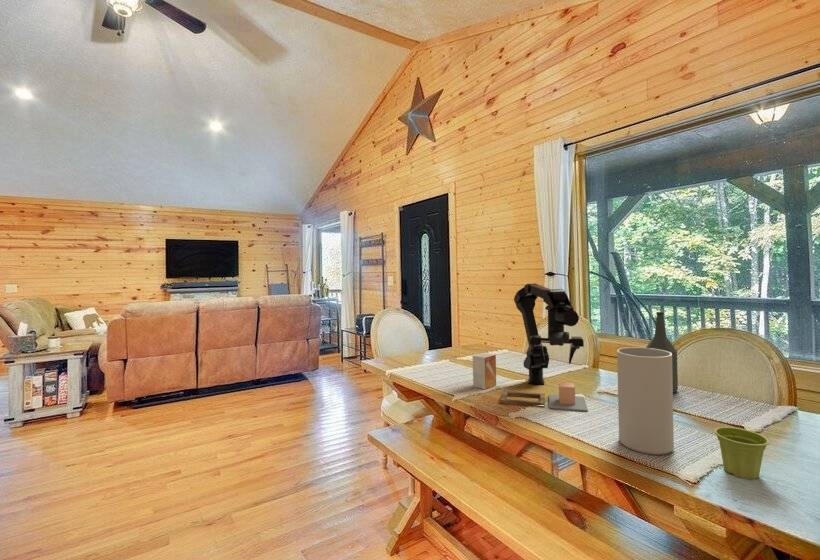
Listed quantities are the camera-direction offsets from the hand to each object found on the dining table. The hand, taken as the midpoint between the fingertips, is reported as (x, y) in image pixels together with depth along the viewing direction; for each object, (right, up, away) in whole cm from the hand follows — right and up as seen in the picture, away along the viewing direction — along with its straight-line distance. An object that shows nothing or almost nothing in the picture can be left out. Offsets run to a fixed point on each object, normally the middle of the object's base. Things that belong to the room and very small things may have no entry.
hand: (556, 363), depth 147 cm
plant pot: (+20, -13, -58) cm, 63 cm away
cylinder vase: (+7, -13, -43) cm, 46 cm away
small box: (-25, -13, +13) cm, 31 cm away
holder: (-14, -12, -5) cm, 20 cm away
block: (0, -11, -10) cm, 15 cm away
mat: (0, -12, -10) cm, 16 cm away
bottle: (+41, -11, +2) cm, 43 cm away
